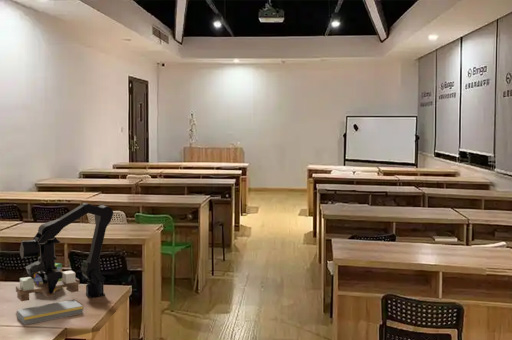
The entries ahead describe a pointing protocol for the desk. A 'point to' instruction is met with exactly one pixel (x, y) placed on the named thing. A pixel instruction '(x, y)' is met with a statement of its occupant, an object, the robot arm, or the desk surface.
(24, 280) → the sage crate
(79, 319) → the desk surface
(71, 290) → the pallet
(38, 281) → the chalk box
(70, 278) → the block
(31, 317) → the dock
